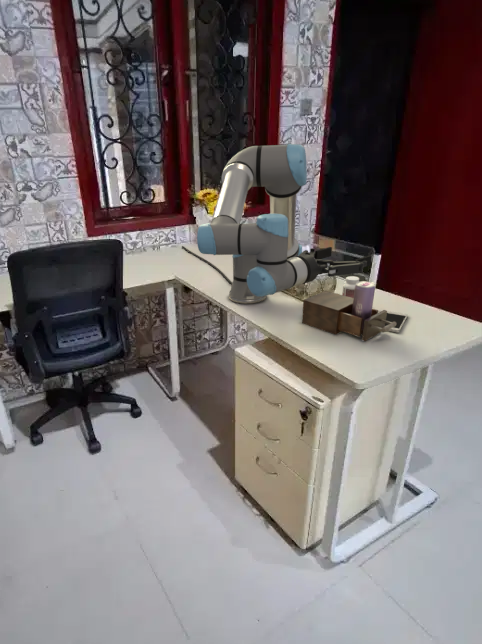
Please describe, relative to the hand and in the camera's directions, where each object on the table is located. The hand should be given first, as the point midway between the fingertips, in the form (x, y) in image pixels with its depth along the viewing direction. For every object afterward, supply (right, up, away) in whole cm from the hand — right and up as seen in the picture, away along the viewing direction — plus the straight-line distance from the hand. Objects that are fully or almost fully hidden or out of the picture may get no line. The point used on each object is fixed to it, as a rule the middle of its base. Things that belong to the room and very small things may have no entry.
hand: (349, 255), depth 120 cm
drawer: (+10, -22, +16) cm, 29 cm away
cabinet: (+2, -19, +25) cm, 31 cm away
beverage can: (+9, -21, +16) cm, 28 cm away
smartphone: (+23, -19, +23) cm, 38 cm away
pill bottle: (+14, -12, +39) cm, 43 cm away
